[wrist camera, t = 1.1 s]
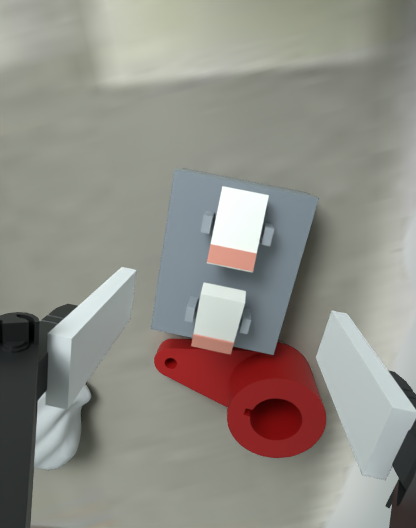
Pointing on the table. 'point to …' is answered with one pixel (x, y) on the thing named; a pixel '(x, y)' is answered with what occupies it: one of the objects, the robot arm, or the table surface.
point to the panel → (199, 271)
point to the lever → (253, 393)
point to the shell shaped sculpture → (58, 432)
